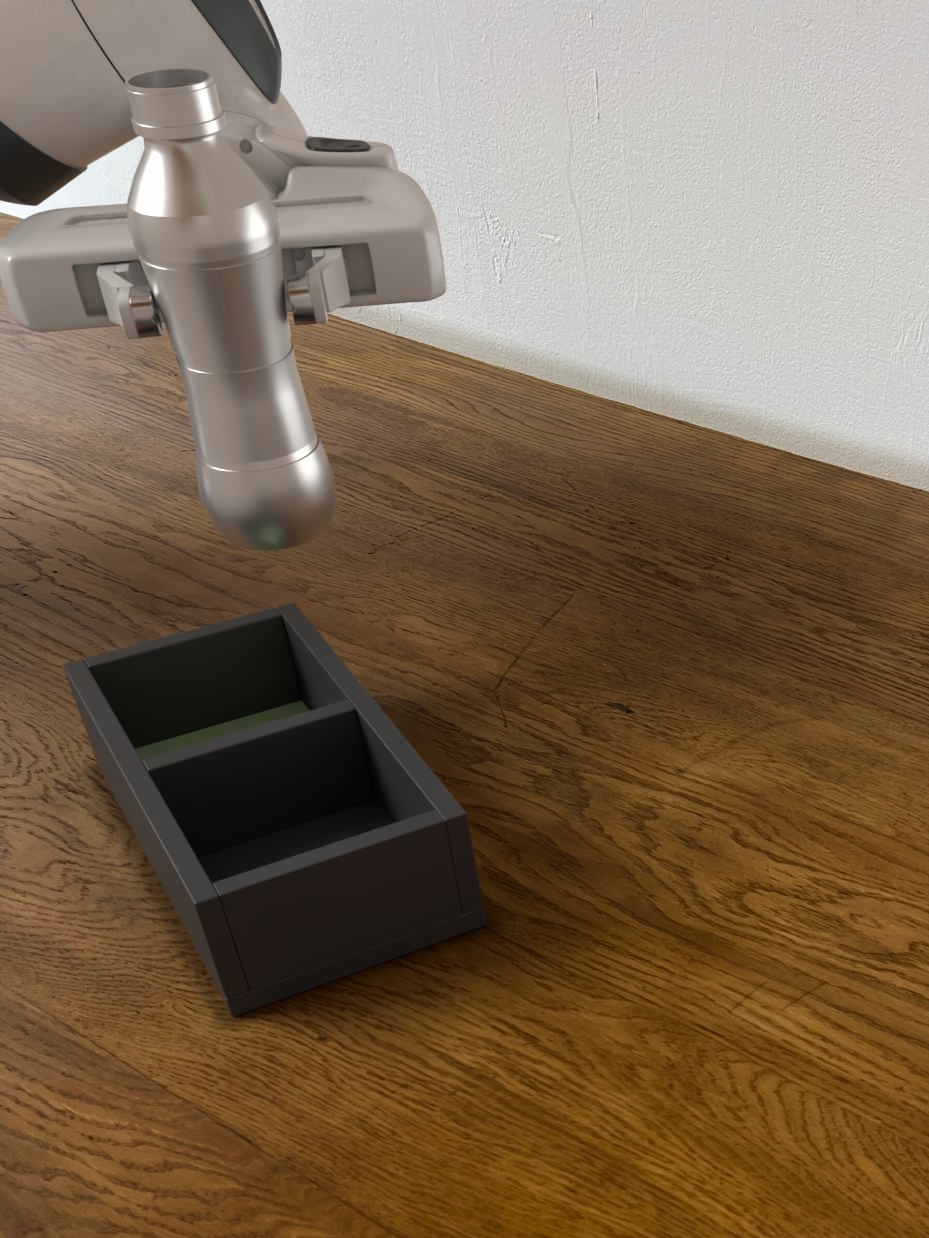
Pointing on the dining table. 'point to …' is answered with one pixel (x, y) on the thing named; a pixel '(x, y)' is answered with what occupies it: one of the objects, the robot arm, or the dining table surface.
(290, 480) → the silver metal bottle
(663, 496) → the dining table surface
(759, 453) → the dining table surface
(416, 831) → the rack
